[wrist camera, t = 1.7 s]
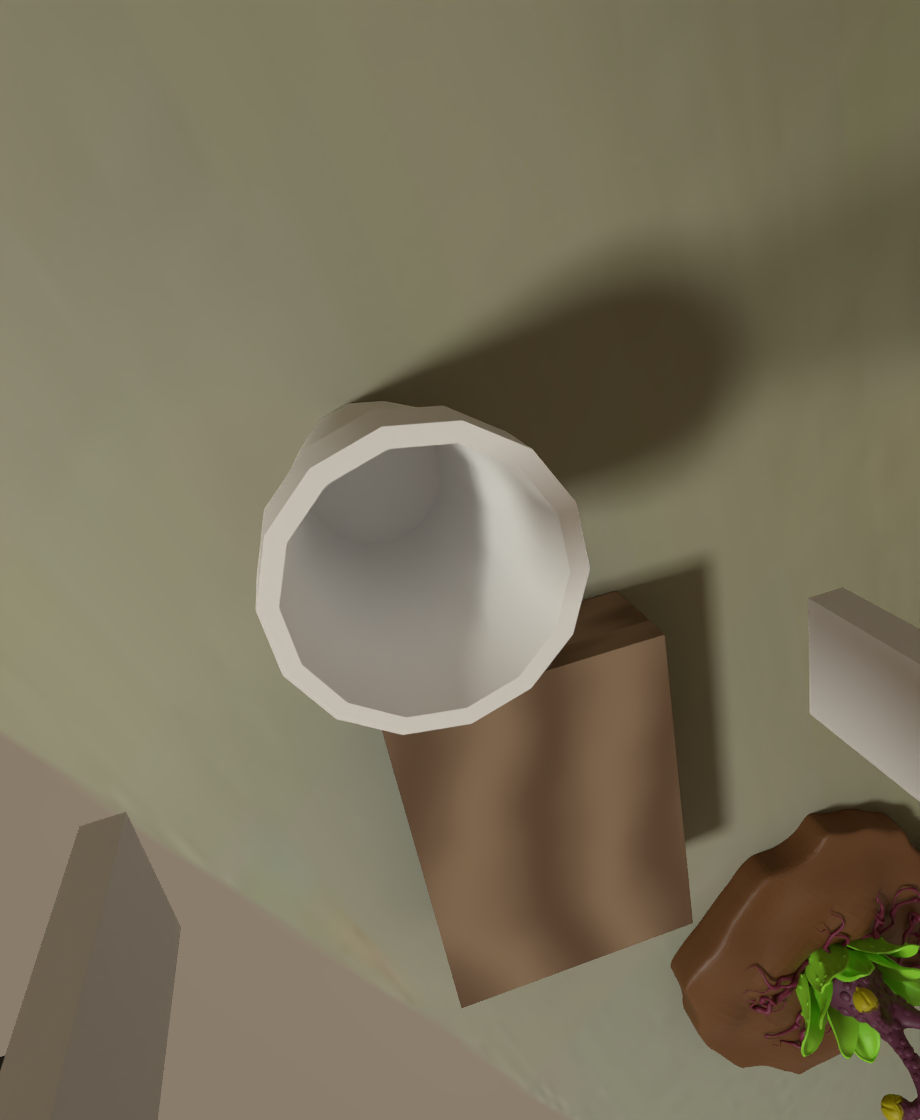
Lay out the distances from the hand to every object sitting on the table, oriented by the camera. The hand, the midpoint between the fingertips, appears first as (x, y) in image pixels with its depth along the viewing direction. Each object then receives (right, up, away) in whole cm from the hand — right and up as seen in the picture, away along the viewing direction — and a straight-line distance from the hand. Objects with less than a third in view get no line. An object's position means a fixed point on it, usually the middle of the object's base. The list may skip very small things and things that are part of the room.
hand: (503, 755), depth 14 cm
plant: (+23, -22, +38) cm, 49 cm away
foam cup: (-5, +7, +19) cm, 21 cm away
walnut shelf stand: (+3, -8, +26) cm, 28 cm away
